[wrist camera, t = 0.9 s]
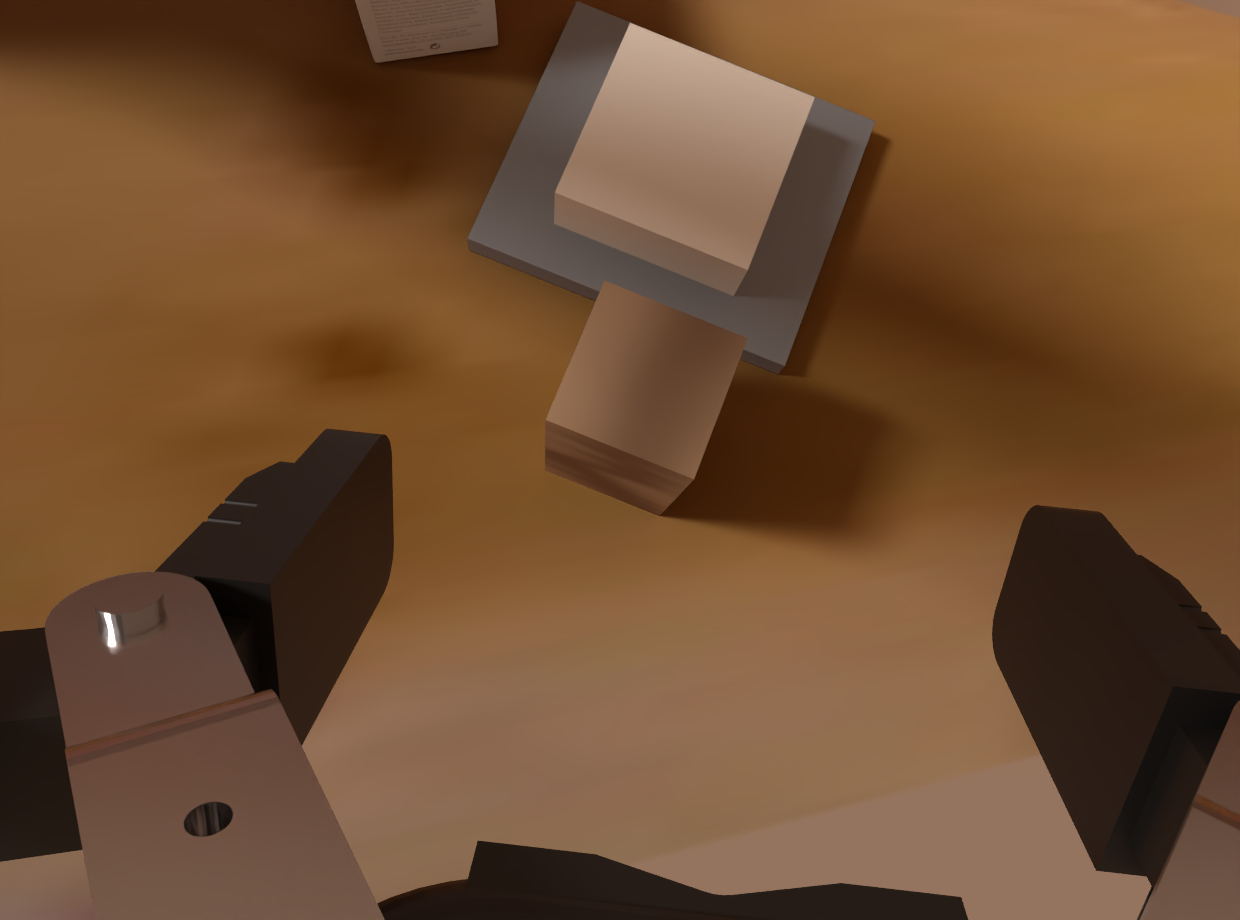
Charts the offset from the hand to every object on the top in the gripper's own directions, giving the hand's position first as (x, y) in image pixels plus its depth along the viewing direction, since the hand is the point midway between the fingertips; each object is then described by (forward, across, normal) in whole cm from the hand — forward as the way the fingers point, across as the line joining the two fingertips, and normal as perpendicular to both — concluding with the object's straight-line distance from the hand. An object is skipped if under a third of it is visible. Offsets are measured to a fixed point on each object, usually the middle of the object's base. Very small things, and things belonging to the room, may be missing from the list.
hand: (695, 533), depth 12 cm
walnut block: (+25, +2, +10) cm, 27 cm away
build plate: (+32, +1, +1) cm, 32 cm away
